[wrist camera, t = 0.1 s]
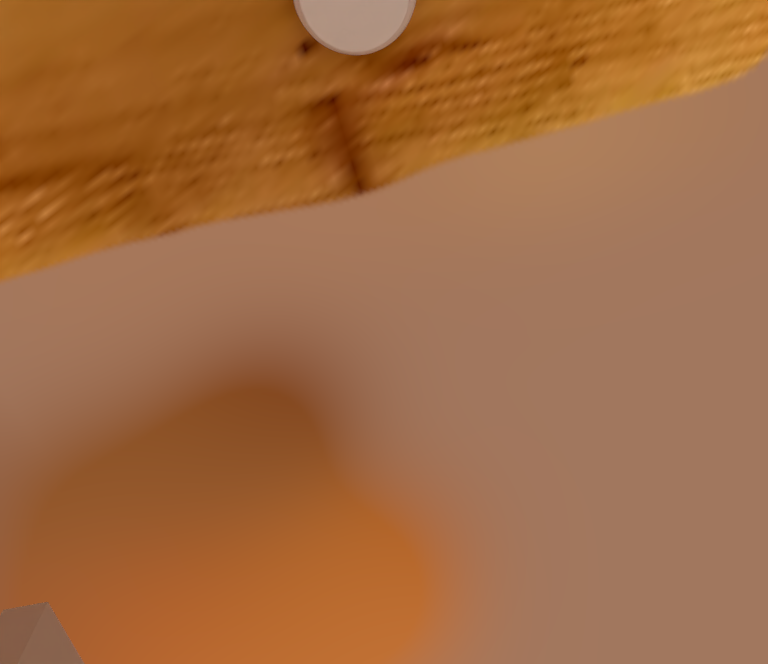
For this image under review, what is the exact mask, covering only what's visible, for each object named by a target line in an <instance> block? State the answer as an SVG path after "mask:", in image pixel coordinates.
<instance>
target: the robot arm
mask: <svg viewBox="0 0 768 664" xmlns="http://www.w3.org/2000/svg"><path fill="white" fill-rule="evenodd" d="M0 664H84V662H83V661H82V659H81V657H80V655H79V654H78V652H77V650H76V649H75V647H74V646H73V644H72V642H71V640H70V639H69V637H68V635H67V634H66V632H65V630H64V629H63V627H62V625H61V623H60V622H59V620H58V618H57V617H56V615H55V613H54V612H53V610H52V608H51V607H50V605H49V603H48V602H45V603H39V604H34V605H28V606H22V607H17V608H12V609H6V610H3V612H2V613H1V615H0Z"/></svg>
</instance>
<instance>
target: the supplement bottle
mask: <svg viewBox="0 0 768 664" xmlns="http://www.w3.org/2000/svg"><path fill="white" fill-rule="evenodd" d="M293 2H294V6H295V9H296V12H297V14H298V16H299V18H300V20H301V22H302V24H303V26H304V27H305V28H306V30H307V31H308V32H309V33H310V35H311V36H312V37H313V38H314V39H315V40H317V41H318V42H319V43H321V44H322V45H323V46H325V47H327V48H329V49H331V50H333V51H335V52H339V53H342V54H348V55H365V54H370V53H373V52H376V51H379V50H381V49H383V48H385V47H386V46H388V45H389V44H391V43H392V42H393V41H394V40H396V39H397V38H398V37H399V36H400V34H401V33H402V32H403V31H404V29H405V28H406V26H407V25H408V23H409V21H410V19H411V17H412V14H413V11H414V8H415V4H416V0H293Z"/></svg>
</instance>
